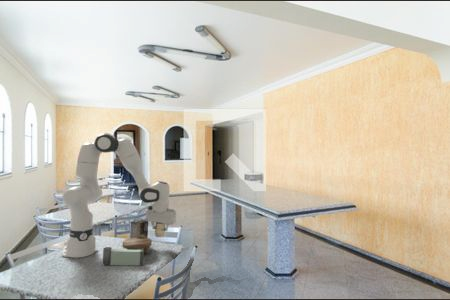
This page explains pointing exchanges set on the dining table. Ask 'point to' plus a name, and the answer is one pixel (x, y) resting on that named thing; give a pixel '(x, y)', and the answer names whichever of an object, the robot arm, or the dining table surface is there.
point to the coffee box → (139, 229)
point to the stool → (137, 244)
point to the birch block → (159, 230)
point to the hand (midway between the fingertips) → (159, 229)
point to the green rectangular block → (122, 256)
